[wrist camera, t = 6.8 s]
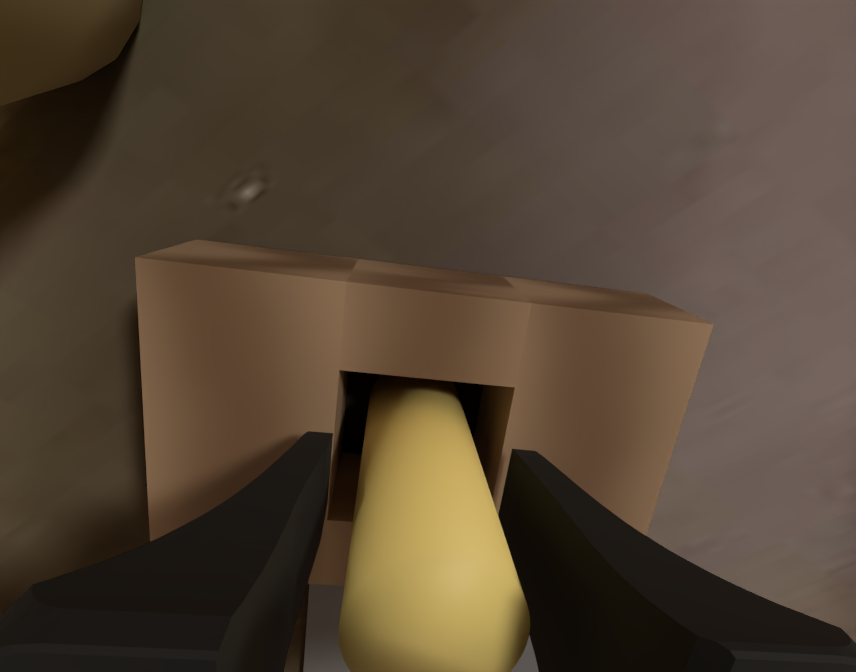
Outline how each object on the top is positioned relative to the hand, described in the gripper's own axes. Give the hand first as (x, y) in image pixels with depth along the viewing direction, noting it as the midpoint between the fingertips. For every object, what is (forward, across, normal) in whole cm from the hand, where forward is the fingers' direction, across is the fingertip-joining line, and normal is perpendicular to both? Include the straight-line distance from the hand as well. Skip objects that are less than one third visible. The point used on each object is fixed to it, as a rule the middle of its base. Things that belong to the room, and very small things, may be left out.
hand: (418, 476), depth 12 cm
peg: (+4, 0, 0) cm, 4 cm away
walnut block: (+4, 0, 0) cm, 4 cm away
